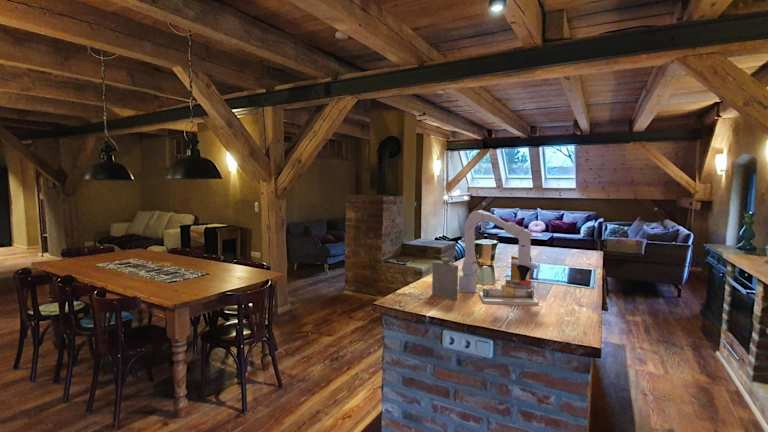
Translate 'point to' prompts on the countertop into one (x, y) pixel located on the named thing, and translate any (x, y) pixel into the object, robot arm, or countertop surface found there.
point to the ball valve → (508, 292)
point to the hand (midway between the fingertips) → (523, 280)
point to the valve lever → (519, 281)
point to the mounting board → (508, 300)
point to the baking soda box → (515, 272)
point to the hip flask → (445, 279)
